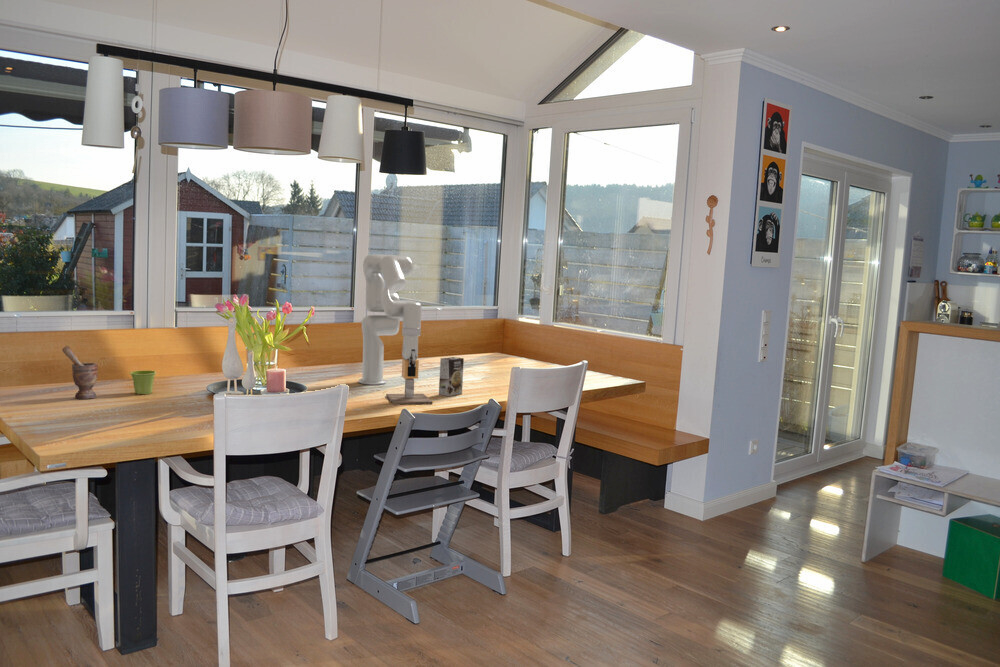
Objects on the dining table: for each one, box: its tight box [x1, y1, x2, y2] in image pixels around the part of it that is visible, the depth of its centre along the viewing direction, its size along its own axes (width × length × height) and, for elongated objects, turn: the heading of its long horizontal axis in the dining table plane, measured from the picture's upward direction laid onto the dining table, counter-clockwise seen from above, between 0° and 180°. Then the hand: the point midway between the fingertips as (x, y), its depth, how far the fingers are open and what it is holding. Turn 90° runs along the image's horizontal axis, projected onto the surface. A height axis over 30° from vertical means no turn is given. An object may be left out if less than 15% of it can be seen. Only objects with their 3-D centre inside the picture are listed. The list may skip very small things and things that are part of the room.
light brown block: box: [401, 357, 420, 380], centre depth 320 cm, size 6×6×8 cm
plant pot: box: [130, 370, 157, 395], centre depth 308 cm, size 9×9×9 cm
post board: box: [385, 379, 433, 406], centre depth 321 cm, size 18×16×9 cm
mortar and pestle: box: [61, 345, 98, 400], centre depth 294 cm, size 12×9×20 cm
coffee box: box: [438, 356, 465, 397], centre depth 338 cm, size 9×6×16 cm
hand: (409, 374), depth 320 cm, fingers closed on light brown block, 5 cm apart
